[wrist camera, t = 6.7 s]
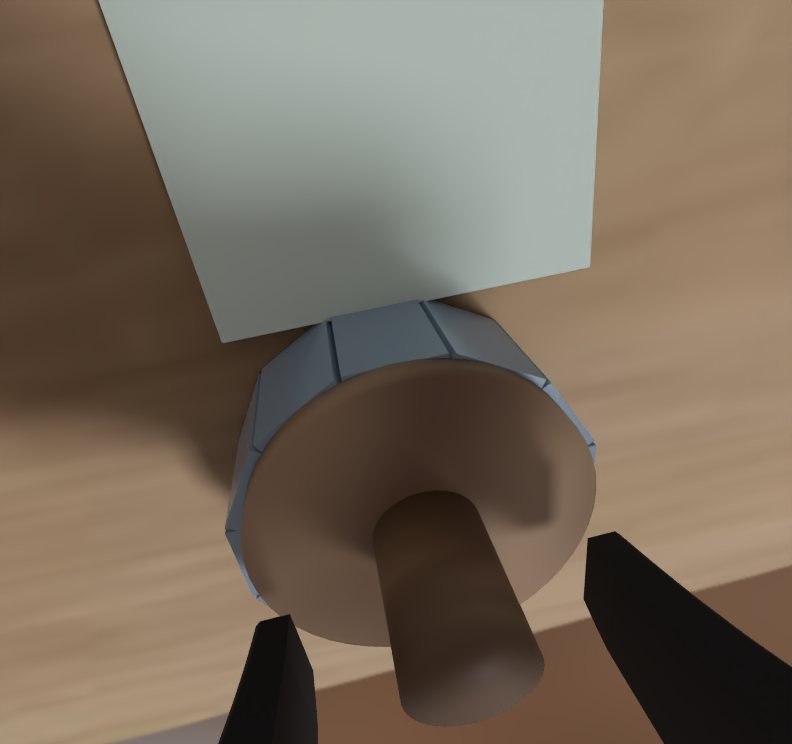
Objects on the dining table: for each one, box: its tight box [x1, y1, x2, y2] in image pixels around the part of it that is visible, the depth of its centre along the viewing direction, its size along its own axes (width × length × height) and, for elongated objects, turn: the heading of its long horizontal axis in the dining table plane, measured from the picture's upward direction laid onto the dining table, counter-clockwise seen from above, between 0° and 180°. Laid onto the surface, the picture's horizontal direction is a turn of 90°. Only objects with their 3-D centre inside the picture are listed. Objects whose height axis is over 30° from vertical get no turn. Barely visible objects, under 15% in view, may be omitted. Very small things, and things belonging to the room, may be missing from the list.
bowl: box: [225, 299, 596, 605], centre depth 14 cm, size 9×9×4 cm
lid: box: [241, 358, 596, 727], centre depth 11 cm, size 8×8×4 cm
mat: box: [99, 0, 604, 343], centre depth 11 cm, size 10×10×1 cm
